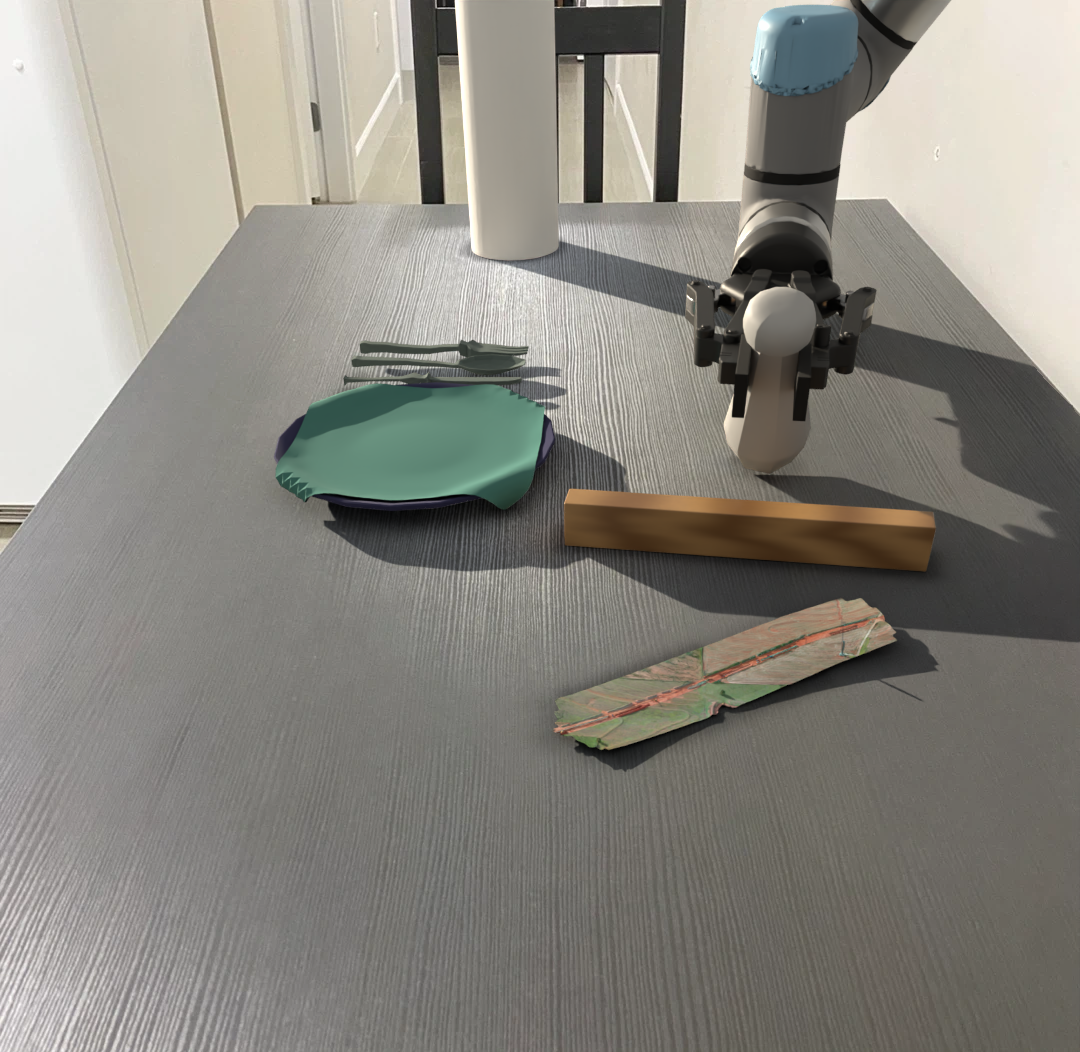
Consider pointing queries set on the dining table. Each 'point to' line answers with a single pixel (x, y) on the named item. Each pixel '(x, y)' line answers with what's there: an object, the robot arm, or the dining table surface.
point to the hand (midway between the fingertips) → (770, 397)
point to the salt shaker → (772, 380)
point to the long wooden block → (750, 529)
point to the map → (721, 674)
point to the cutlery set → (419, 435)
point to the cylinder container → (509, 125)
